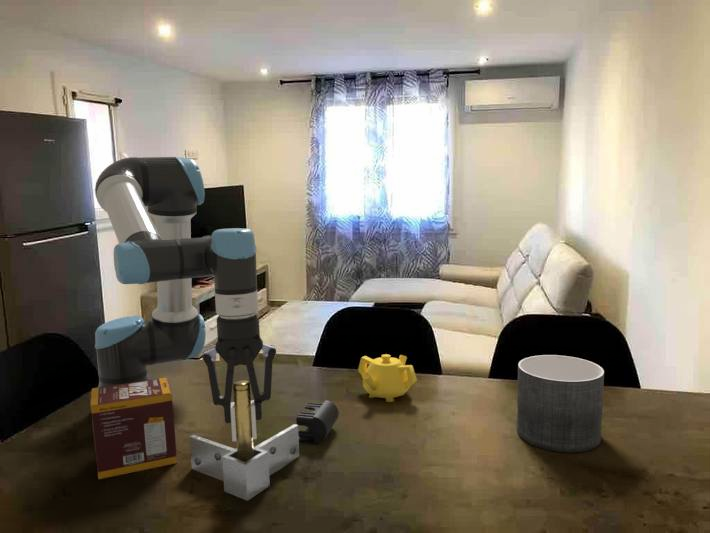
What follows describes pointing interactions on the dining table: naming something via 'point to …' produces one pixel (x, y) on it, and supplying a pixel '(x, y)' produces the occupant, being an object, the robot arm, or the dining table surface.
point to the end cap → (317, 422)
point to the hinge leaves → (245, 462)
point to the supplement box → (133, 427)
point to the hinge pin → (243, 419)
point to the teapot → (386, 376)
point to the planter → (560, 403)
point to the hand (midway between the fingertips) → (244, 436)
